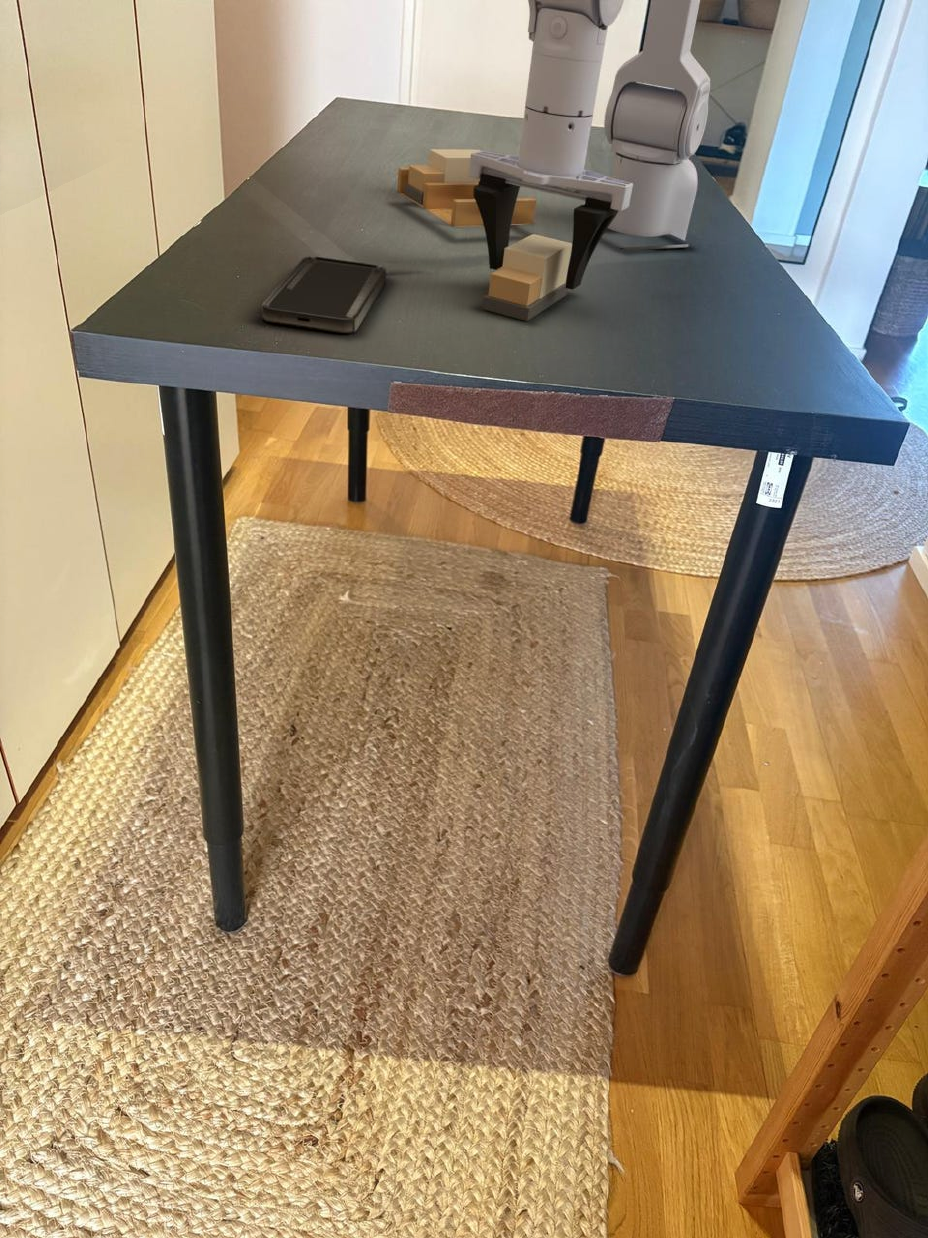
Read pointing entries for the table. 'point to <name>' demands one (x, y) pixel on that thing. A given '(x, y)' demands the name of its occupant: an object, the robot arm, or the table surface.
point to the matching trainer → (439, 171)
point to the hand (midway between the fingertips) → (534, 276)
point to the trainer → (529, 277)
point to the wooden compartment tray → (461, 202)
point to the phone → (325, 295)
